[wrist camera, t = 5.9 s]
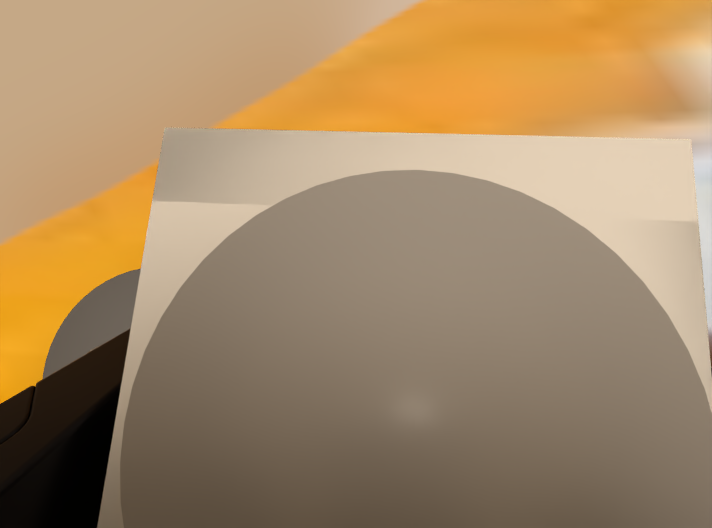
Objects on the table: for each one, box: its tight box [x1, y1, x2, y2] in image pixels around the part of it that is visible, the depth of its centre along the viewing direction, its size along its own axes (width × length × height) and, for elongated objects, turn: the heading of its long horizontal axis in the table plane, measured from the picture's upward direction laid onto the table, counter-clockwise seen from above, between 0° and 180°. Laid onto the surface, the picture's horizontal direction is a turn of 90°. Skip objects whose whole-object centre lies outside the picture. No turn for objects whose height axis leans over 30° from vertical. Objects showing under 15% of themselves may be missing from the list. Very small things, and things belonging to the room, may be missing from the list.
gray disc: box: [43, 269, 141, 379], centre depth 22 cm, size 10×10×1 cm
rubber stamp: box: [97, 128, 712, 528], centre depth 9 cm, size 6×6×13 cm
